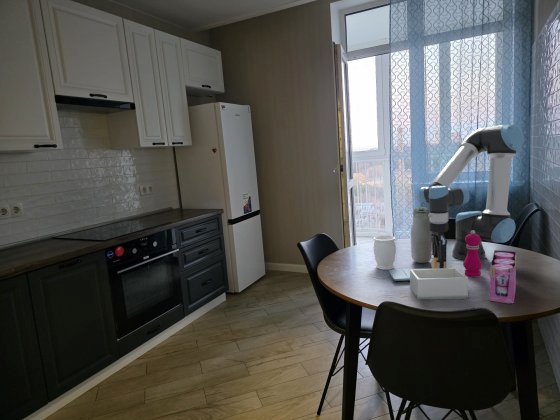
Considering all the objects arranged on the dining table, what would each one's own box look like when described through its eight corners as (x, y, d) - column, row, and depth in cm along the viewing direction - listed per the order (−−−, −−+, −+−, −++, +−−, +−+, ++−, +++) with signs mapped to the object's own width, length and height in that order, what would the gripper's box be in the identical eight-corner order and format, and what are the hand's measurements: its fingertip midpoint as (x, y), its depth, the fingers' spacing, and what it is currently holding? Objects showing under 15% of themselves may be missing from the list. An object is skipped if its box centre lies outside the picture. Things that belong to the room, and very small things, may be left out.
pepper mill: (480, 272, 165) (480, 228, 163) (483, 277, 159) (483, 232, 156) (462, 271, 168) (462, 228, 165) (464, 277, 161) (464, 232, 158)
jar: (397, 270, 176) (396, 239, 173) (374, 270, 178) (373, 240, 176) (395, 264, 186) (394, 234, 184) (373, 264, 188) (372, 235, 186)
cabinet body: (455, 286, 151) (455, 267, 150) (467, 298, 139) (467, 277, 138) (410, 288, 153) (409, 269, 152) (418, 299, 141) (417, 279, 140)
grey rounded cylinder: (412, 265, 182) (411, 209, 178) (410, 259, 192) (409, 205, 188) (433, 265, 179) (433, 208, 175) (431, 259, 189) (430, 205, 185)
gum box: (514, 306, 130) (515, 268, 128) (488, 302, 134) (489, 266, 132) (516, 284, 150) (516, 251, 148) (493, 281, 154) (493, 249, 152)
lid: (440, 269, 169) (440, 254, 168) (450, 278, 156) (449, 262, 155) (388, 271, 171) (388, 256, 170) (394, 280, 159) (393, 264, 158)
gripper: (424, 219, 168) (424, 268, 172) (435, 226, 151) (436, 281, 155) (441, 218, 167) (441, 268, 171) (455, 225, 151) (455, 280, 154)
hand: (439, 274), depth 163 cm, fingers closed on lid, 4 cm apart
